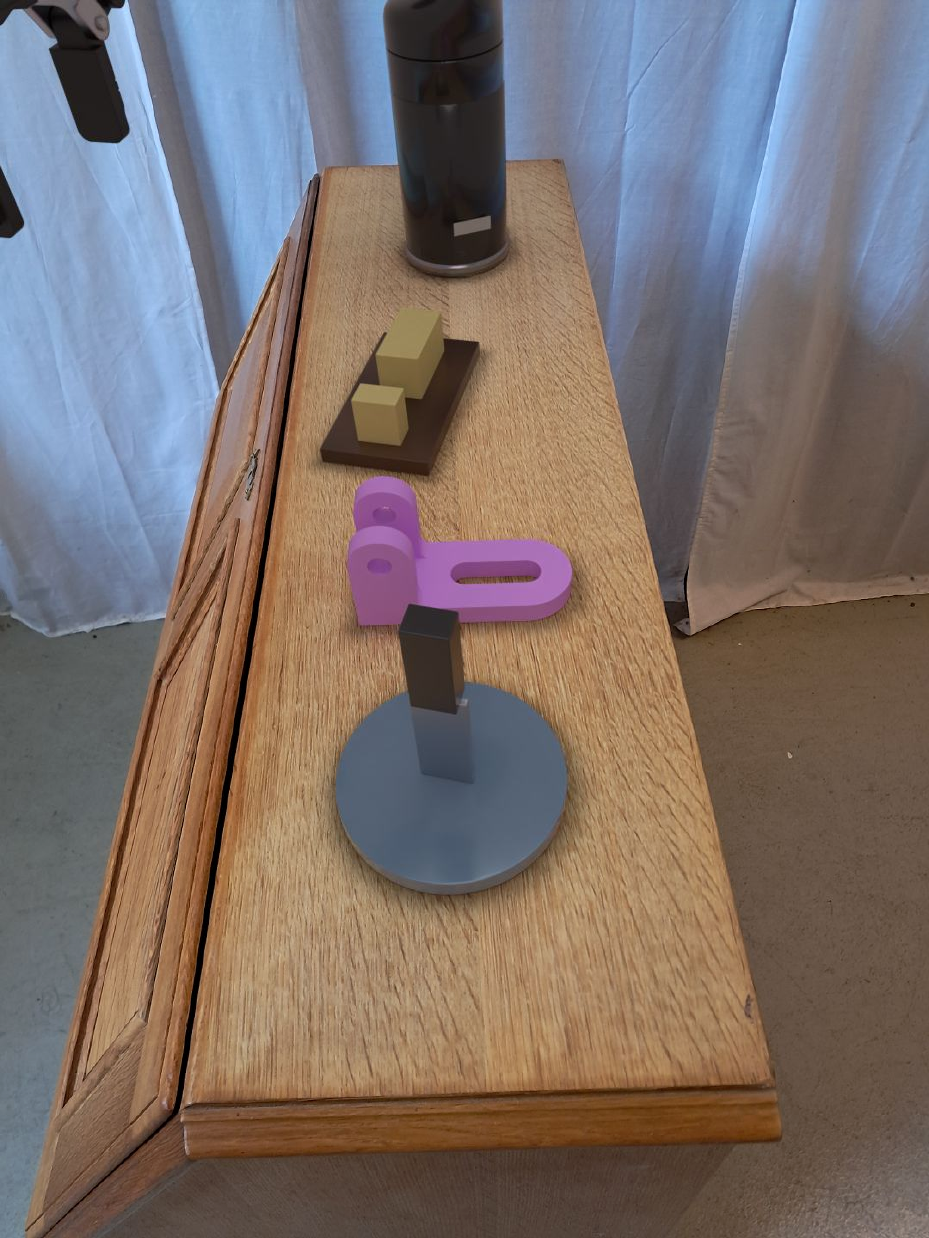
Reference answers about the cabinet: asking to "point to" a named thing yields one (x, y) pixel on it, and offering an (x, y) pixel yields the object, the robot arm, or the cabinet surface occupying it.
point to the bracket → (443, 566)
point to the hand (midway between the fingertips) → (57, 182)
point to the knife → (437, 692)
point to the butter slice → (380, 414)
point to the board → (423, 416)
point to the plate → (453, 796)
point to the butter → (411, 351)
